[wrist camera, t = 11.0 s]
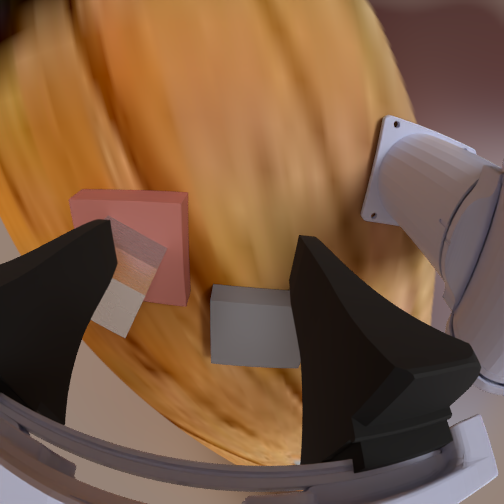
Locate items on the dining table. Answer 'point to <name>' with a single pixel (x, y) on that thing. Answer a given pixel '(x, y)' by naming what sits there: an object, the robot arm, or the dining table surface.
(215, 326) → the stand
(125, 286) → the grey cube
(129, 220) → the stand
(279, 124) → the dining table surface
